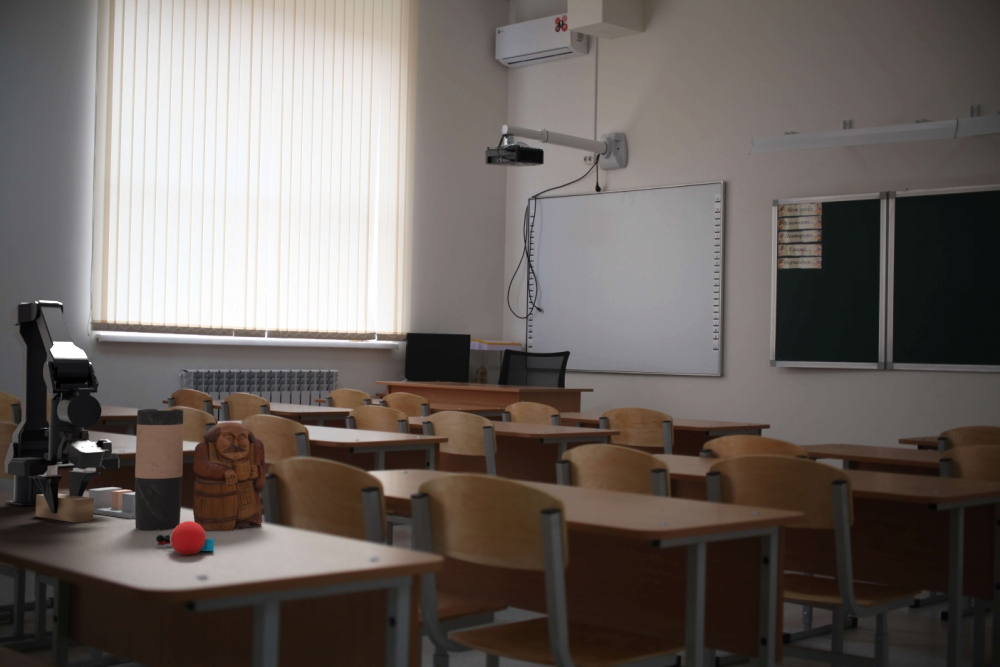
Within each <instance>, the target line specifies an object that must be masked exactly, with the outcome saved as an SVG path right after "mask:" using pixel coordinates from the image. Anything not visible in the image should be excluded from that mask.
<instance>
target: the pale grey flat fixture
mask: <svg viewBox="0 0 1000 667" xmlns="http://www.w3.org/2000/svg"><path fill="white" fill-rule="evenodd" d="M88 497H89V498H94V505H93V514H96V515H101V516H102V515H103V516H110V517H116V518H125V519H135V491H133V490H131V489H123V487H116V486H115V487H114V486H110V487H99V488H90V489H88Z"/></svg>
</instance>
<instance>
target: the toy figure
mask: <svg viewBox="0 0 1000 667" xmlns="http://www.w3.org/2000/svg"><path fill="white" fill-rule="evenodd" d="M155 540H156V542H157V544H158V545H160V544H161V545H171V547H172V548H173V550H174V551H175V552H176V553H178V554H179V555H183V556H193V555H195V554H197V553H199V552H214V550H215V549H214V548H215V539H214V538H207V537H206V531H204V529H203V528H202V526H201V525H199V524H198V523H196V522H194V521H193V520H192V521H190V520H189V521H183V522H180V524H179V525H178V526H176V527H175V529H172V531H171V534H166V535H163V534H159V535H157V536H156V537H155Z"/></svg>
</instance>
